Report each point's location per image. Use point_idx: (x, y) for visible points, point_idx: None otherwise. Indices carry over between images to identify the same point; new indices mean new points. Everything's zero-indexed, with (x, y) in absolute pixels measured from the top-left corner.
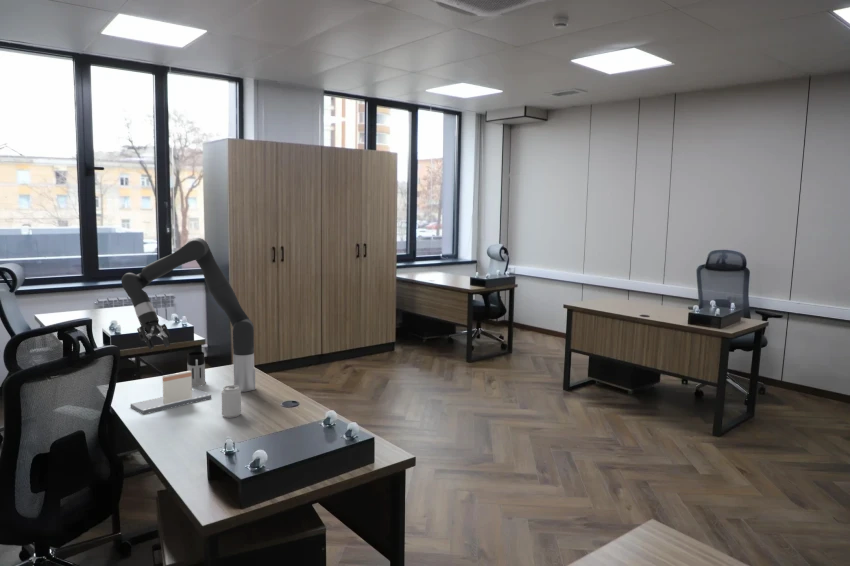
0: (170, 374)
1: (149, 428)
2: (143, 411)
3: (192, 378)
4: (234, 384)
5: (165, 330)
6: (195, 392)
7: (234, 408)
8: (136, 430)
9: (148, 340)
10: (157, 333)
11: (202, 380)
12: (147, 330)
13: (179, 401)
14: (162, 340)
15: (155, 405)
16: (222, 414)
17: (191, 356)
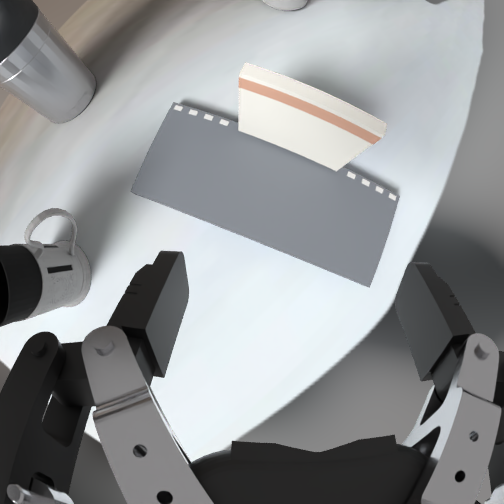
0: (347, 114)
1: (440, 115)
2: (396, 195)
3: (71, 270)
4: (78, 96)
5: (30, 440)
6: (167, 169)
7: None
8: (458, 136)
9: (474, 337)
10: (281, 449)
11: (57, 244)
12: (475, 502)
13: (280, 147)
14: (165, 372)
15: (350, 194)
16: (304, 5)
17: (12, 282)
